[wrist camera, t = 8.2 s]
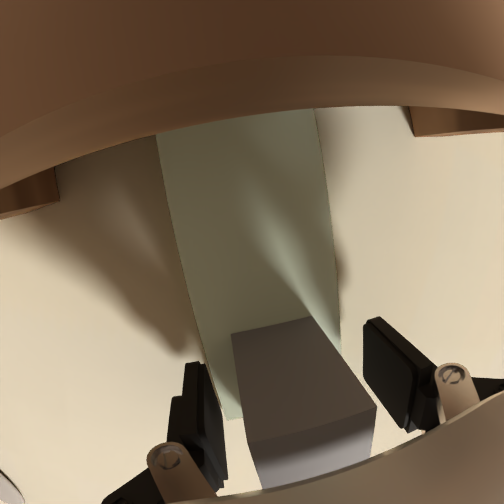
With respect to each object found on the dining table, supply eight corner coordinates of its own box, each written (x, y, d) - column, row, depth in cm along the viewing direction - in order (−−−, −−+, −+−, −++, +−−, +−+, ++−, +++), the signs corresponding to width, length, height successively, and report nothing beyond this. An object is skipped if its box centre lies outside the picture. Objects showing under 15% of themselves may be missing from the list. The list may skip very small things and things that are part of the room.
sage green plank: (265, -44, 9) (299, -137, 2) (335, 381, 15) (392, 477, 8) (142, -28, 9) (114, -123, 2) (225, 407, 14) (238, 520, 8)
